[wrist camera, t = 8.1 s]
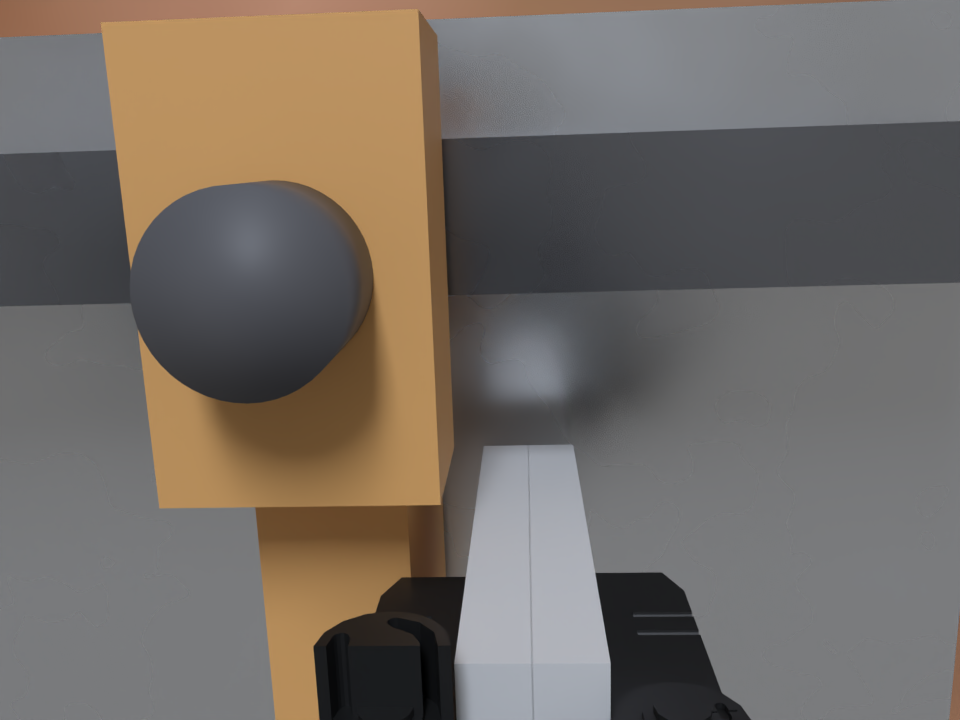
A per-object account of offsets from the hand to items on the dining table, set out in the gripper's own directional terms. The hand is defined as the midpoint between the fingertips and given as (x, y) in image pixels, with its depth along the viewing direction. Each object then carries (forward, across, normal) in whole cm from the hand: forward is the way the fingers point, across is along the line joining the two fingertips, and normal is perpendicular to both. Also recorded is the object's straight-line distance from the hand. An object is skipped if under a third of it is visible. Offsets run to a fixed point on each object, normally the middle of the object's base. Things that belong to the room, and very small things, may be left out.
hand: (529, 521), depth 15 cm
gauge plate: (+3, -6, +1) cm, 7 cm away
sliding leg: (+1, -3, +2) cm, 4 cm away
